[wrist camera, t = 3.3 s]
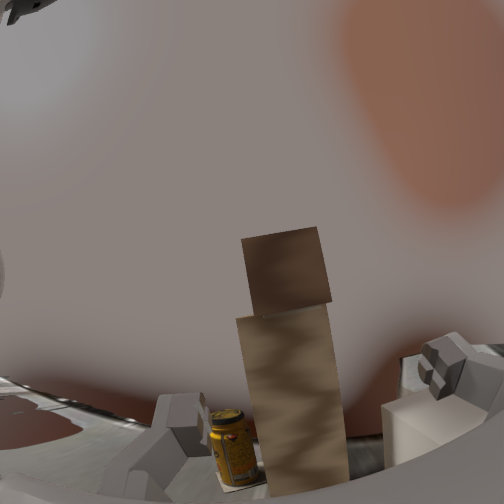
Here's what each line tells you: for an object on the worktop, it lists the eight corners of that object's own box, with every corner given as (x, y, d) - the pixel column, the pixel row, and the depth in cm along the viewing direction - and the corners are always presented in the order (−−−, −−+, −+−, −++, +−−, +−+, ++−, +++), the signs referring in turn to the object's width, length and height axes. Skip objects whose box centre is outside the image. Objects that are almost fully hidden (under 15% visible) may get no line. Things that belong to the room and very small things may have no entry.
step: (439, 589, 6) (476, 468, 9) (384, 513, 21) (381, 405, 24) (506, 547, 6) (547, 412, 9) (437, 490, 21) (440, 382, 24)
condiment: (215, 473, 39) (200, 411, 41) (264, 461, 42) (252, 401, 44) (224, 493, 32) (207, 426, 35) (279, 479, 35) (267, 412, 37)
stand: (284, 555, 18) (235, 318, 23) (277, 495, 30) (243, 316, 35) (352, 540, 18) (325, 301, 23) (328, 485, 30) (301, 305, 35)
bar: (255, 320, 15) (240, 239, 16) (256, 315, 34) (250, 280, 35) (332, 305, 15) (316, 226, 16) (290, 309, 34) (283, 274, 35)
